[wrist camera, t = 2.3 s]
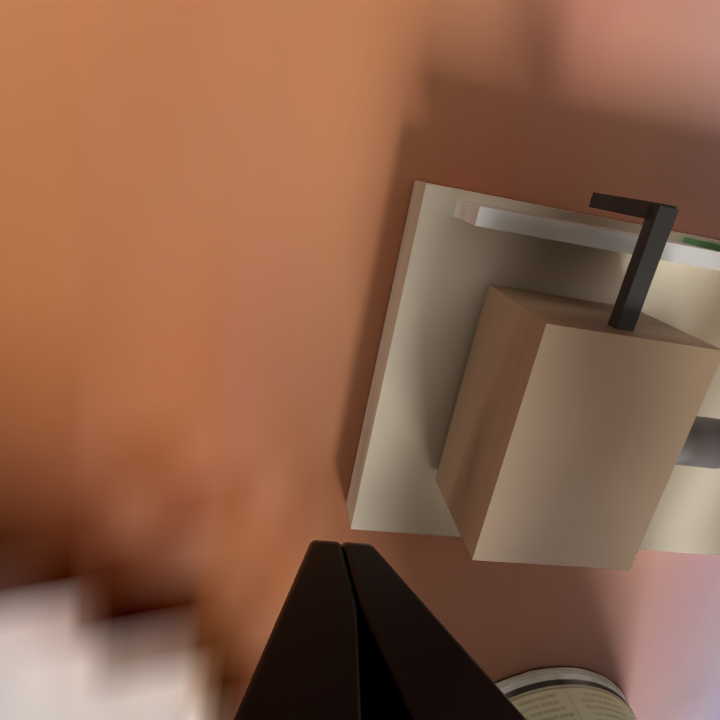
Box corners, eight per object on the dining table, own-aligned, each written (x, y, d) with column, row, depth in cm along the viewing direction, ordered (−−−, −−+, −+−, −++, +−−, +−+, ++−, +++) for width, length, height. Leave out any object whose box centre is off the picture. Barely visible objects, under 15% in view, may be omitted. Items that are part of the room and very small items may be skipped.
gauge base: (959, 287, 22) (1145, 327, 17) (816, 541, 26) (935, 629, 21) (414, 180, 17) (463, 194, 13) (345, 503, 21) (364, 604, 17)
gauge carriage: (752, 225, 17) (879, 248, 14) (638, 498, 21) (715, 575, 17) (517, 177, 16) (589, 188, 12) (435, 480, 19) (472, 559, 16)
